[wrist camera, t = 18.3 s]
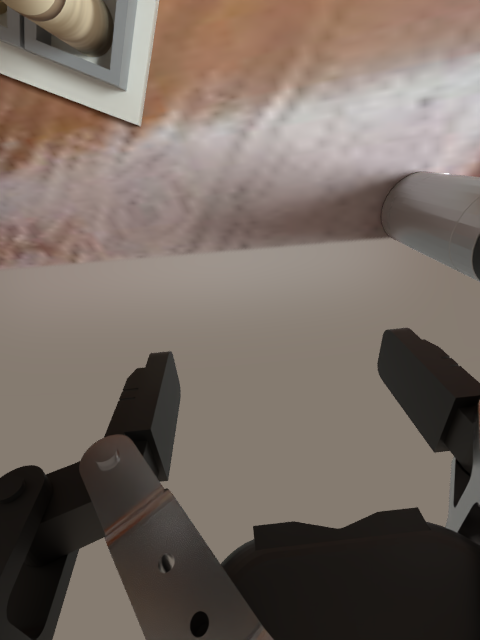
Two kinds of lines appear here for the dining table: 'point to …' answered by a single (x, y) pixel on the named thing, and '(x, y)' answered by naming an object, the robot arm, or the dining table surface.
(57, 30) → the lidded cup
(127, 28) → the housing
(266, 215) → the dining table surface
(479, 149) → the dining table surface
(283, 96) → the dining table surface
